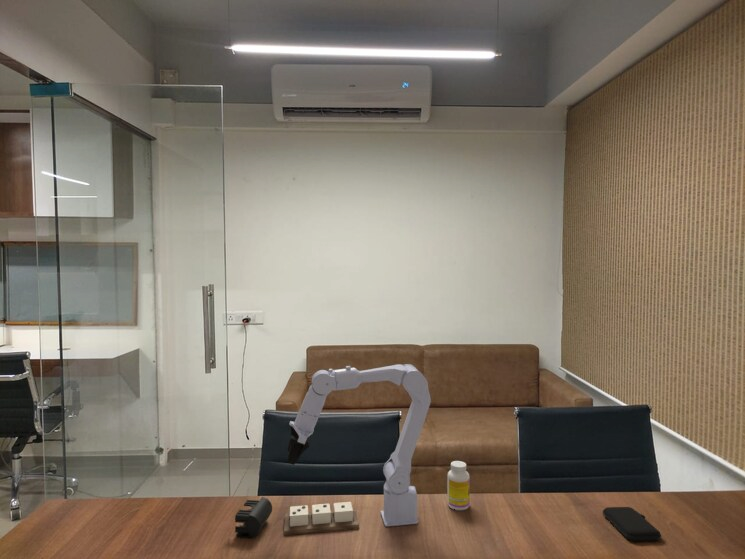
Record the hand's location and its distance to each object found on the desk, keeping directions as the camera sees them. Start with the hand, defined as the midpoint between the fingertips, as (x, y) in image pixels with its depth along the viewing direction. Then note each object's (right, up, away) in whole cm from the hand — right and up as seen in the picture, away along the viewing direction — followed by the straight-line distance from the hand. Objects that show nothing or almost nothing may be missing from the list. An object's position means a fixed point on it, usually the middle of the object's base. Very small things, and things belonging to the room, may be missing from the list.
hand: (290, 457), depth 130 cm
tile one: (+14, -18, +3) cm, 23 cm away
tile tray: (+8, -20, +2) cm, 21 cm away
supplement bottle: (+49, -19, +12) cm, 54 cm away
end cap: (-10, -20, 0) cm, 22 cm away
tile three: (+2, -18, +1) cm, 19 cm away
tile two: (+8, -18, +2) cm, 20 cm away
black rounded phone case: (+95, -20, 0) cm, 97 cm away
